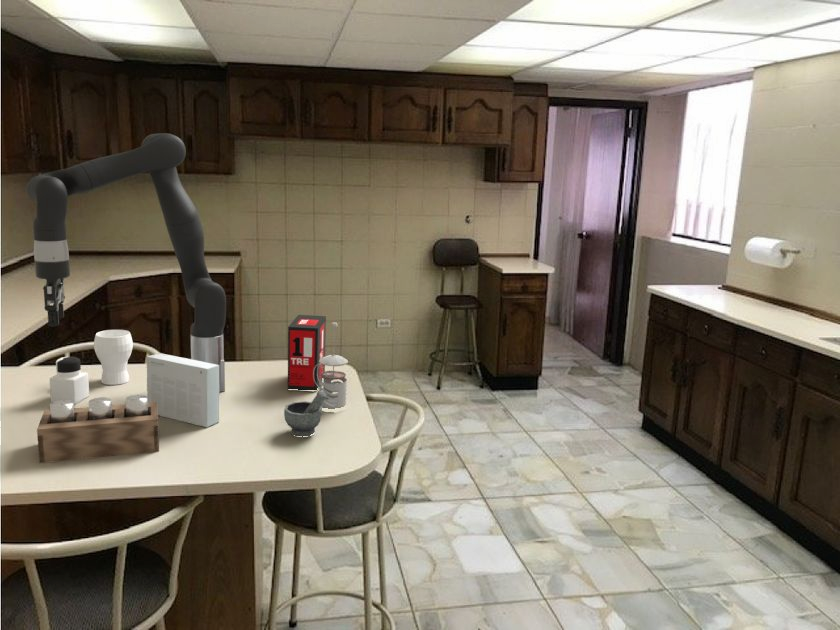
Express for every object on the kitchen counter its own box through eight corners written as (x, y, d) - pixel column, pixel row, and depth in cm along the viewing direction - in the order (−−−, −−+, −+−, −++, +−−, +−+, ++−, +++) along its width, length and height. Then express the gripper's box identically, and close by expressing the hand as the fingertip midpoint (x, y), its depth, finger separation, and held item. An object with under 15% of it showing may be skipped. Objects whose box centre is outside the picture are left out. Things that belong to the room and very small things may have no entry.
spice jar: (112, 416, 164) (111, 396, 163) (111, 423, 160) (110, 403, 159) (90, 418, 162) (89, 398, 161) (89, 425, 158) (87, 405, 157)
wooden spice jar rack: (158, 431, 173) (157, 402, 171) (159, 451, 162) (157, 419, 160) (46, 442, 163) (44, 410, 162) (39, 463, 152) (36, 429, 151)
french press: (334, 415, 190) (337, 328, 184) (303, 405, 196) (304, 321, 190) (356, 405, 198) (359, 322, 192) (325, 397, 204) (327, 315, 198)
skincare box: (221, 421, 181) (220, 364, 178) (207, 428, 176) (205, 369, 173) (161, 406, 190) (159, 351, 186) (146, 412, 185) (144, 356, 181)
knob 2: (148, 413, 167) (147, 394, 166) (148, 420, 163) (147, 400, 162) (127, 415, 165) (126, 395, 164) (126, 422, 161) (125, 402, 160)
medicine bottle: (89, 396, 195) (87, 355, 192) (75, 404, 188) (72, 363, 185) (66, 394, 195) (63, 353, 193) (50, 402, 188) (47, 360, 186)
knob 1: (75, 419, 161) (74, 399, 160) (73, 426, 157) (72, 406, 156) (52, 421, 159) (51, 400, 158) (50, 428, 155) (48, 408, 154)
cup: (109, 374, 214) (106, 328, 211) (141, 377, 213) (139, 330, 209) (88, 384, 204) (85, 336, 200) (121, 388, 202) (119, 339, 199)
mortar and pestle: (277, 437, 173) (277, 392, 171) (292, 423, 182) (293, 381, 180) (319, 443, 171) (320, 397, 168) (332, 429, 180) (333, 386, 177)
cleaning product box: (297, 373, 224) (298, 314, 220) (324, 375, 224) (325, 316, 220) (287, 390, 208) (288, 326, 204) (316, 391, 208) (317, 328, 204)
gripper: (64, 262, 163) (69, 328, 167) (72, 254, 176) (76, 315, 180) (29, 262, 160) (34, 329, 164) (39, 254, 174) (44, 316, 177)
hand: (56, 321), depth 172 cm, fingers open, 8 cm apart
